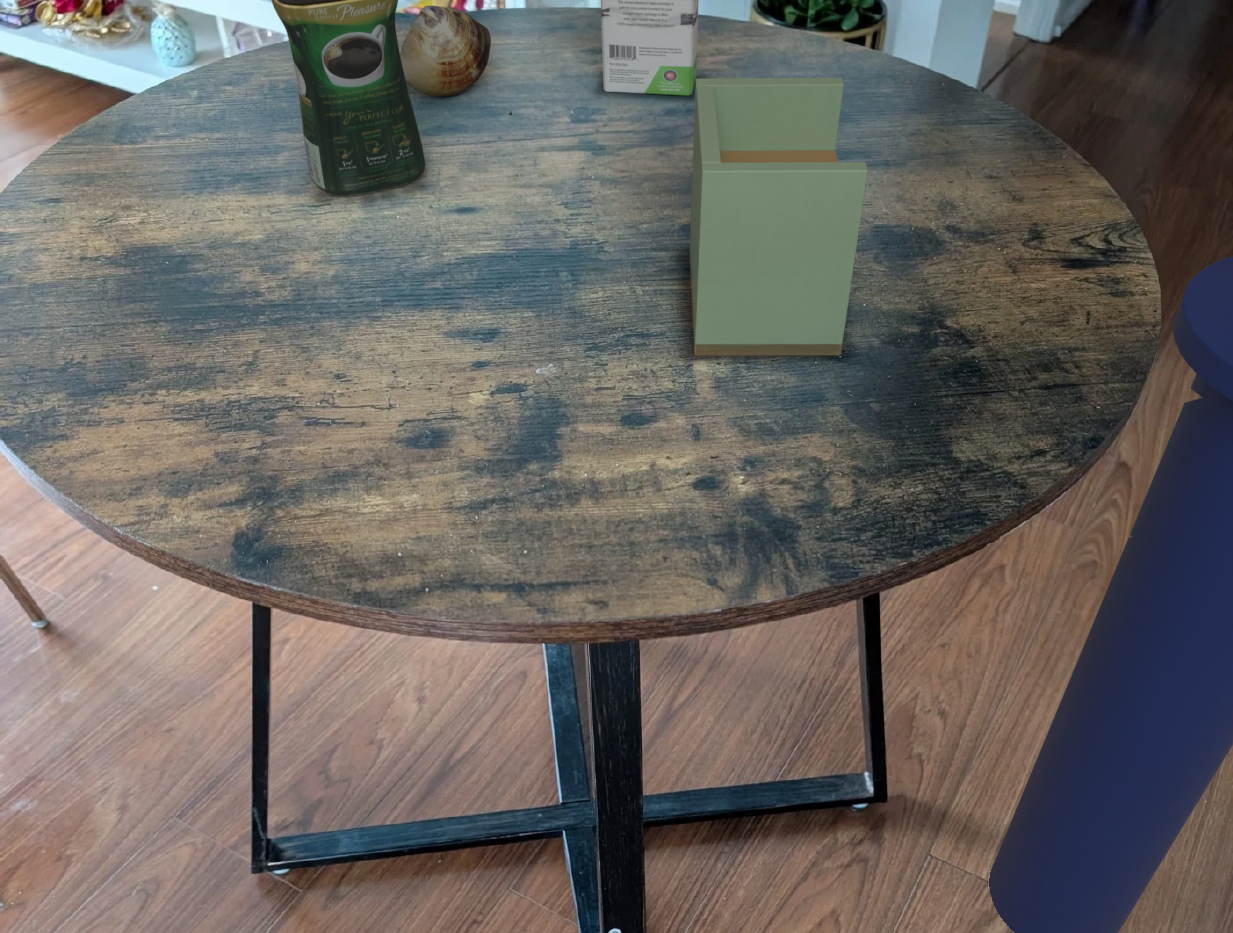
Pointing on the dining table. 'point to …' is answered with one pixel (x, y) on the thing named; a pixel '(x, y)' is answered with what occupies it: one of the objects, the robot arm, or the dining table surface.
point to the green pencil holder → (771, 217)
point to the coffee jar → (352, 94)
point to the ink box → (649, 46)
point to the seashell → (444, 51)
